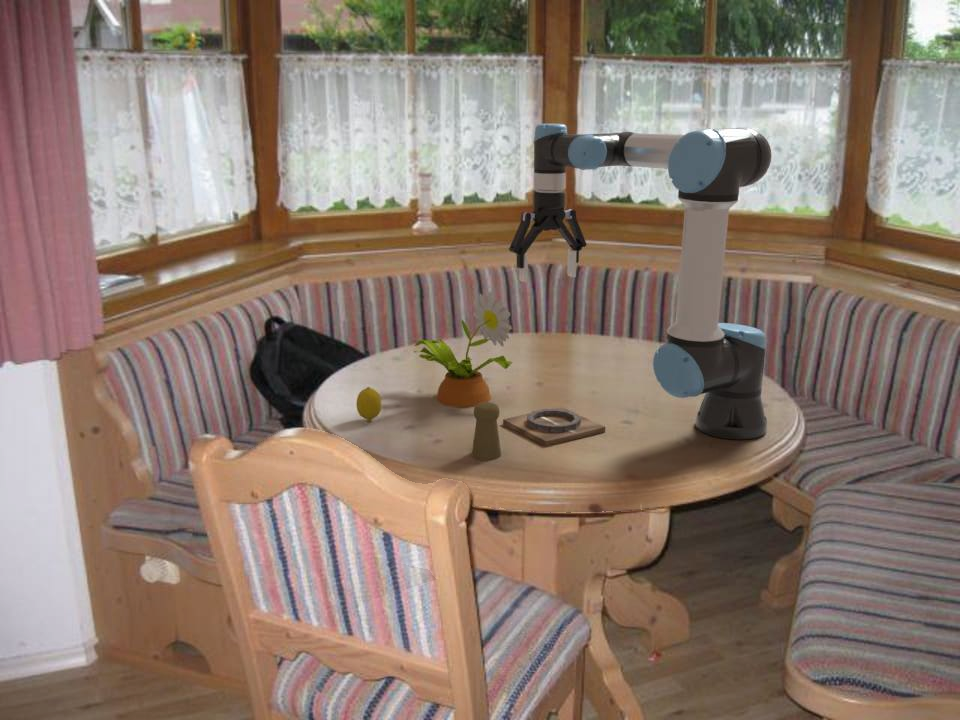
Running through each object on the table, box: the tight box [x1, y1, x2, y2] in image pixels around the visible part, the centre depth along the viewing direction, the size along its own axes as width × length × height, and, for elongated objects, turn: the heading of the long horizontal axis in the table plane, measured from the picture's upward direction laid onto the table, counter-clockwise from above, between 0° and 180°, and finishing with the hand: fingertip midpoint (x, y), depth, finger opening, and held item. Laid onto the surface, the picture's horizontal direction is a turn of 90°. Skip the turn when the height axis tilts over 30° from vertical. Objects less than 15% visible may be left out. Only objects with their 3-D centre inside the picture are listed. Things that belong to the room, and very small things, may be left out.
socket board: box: [502, 406, 606, 447], centre depth 216 cm, size 16×16×2 cm
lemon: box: [356, 386, 382, 422], centre depth 219 cm, size 6×6×8 cm
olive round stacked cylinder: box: [471, 401, 502, 461], centre depth 199 cm, size 6×6×11 cm
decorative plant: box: [413, 291, 513, 408], centre depth 232 cm, size 27×24×25 cm
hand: (547, 278), depth 238 cm, fingers open, 13 cm apart
